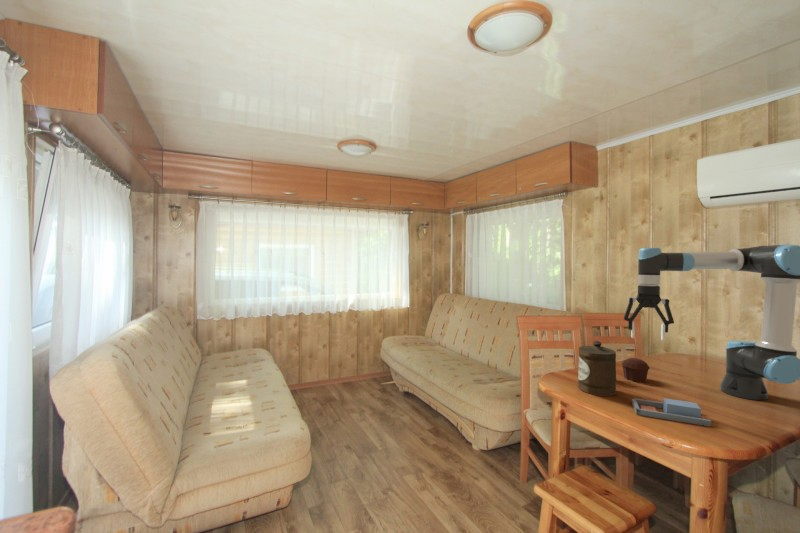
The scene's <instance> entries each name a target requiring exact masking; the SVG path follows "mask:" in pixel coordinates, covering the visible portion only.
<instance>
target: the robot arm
mask: <svg viewBox="0 0 800 533" xmlns="http://www.w3.org/2000/svg"><path fill="white" fill-rule="evenodd" d="M637 260H638V262H637V263H638V270H637V271H638V272H637V274H638V275H637V284H638V286H637V295H636V296H635V297H631V296H629V297H628V305H627V307H626V309H625V313H624V315H623V320H624V321H627V322H628V326H627V327H628V329H629V330H630V331H631V332H630V337H631V338H632V339H635V322H634V320H635V319H636V317H637V316H638V315H639V314H640V312H641V310H642V309H643V308H644V309H645V308H650V309H654V310H655V312H656V313H657V315H658V316H659V318H660V319H661V321H662V323H660V324H661V326H660V340H661V341H662V342H665V341H666V333H668V332H669V325H670V324H674V323H675V321H674V317H673V315H672V311H671V307H670V299H669V298H661V294H660V293H661V286H660V284H661V272H663V271H664V272H666V271H667V272H688V271H689V272H690V271H692V270H726V269H727V270H730V271H733V272H749V273H758V274H760V278H761V280H763V281H764V282H765V288H764V299H763V310H762V318H761V319H762V320H761V329H760V330H761V332H760V340H759V341H758V342H757V341H749V340H748V341H746V340H730V341H728V342H727V343H726V348H725V350H726V354H725V355H726V358H725V359H726V360H725V362H726V364H725V366H726V367H725V375H724V377H723V379H722V380H721V383H720V389H719V390H720V391H721V392H723V393H725V394H727V395H731V396H734V397H737V398H741V399H747V400H757V401H766V400H768V399H769V392H768V389H767V387H766V384H765V382H764V379H766V380H768V381H770V382H775V383H778V384H782V385H786V384H787V385H788V384H793V383H795V382H796V381H798V380H800V358H799V357H797V355H798V354H797V353H798V352H797V351H798V350H797V349H796V348H795V347H794V346H793V345H792V344H793V334H794V333H793V332H794V323H795V322H794V320H795V311H796V302H797V301H796V300H797V299H796V298H797V290H798V284H800V245H799V244H798V245H797V244H789V243H788V244H787V243H786V244H774V245H758V246H751V247H744V248H743V247H742V248H733V249H730V250H729V251H695V252H694V251H693V252H691V251H689V252H687V251H686V252H662V249H661V248H660V247H641V248H640V249H639V251H638V258H637ZM636 301H637V303H638V304H637V306H636V308H635V309H634V311H633V313H632V314H631V311H632V308H633V305H634V304H635V302H636ZM659 303H662V304H663V306H664V310H665V313H666V315H667V318H666V317H665V315H664V313H663V312H662V310H661V309H660V307H659ZM630 314H631V315H630ZM629 316H630V317H629Z"/></svg>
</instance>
